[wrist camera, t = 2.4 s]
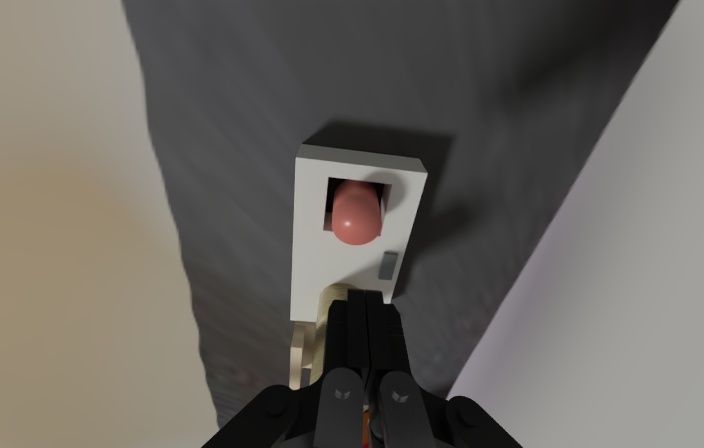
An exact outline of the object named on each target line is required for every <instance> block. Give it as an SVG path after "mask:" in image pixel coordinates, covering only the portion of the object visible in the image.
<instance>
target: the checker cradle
mask: <svg viewBox="0 0 704 448" xmlns="http://www.w3.org/2000/svg"><path fill="white" fill-rule="evenodd" d="M427 174H428V173H427V171H426V169H425V168H424V166H423V164H422V162H421V161H420V159H418V158H410V157H402V156H394V155H386V154H378V153H370V152H362V151H354V150H347V149H339V148H331V147H323V146H315V145H307V144H301V146H300V148H299V151H298V153H297V156H296V168H295V198H294V227H293V257H292V287H291V317H290V320H295V321H308V322H316V320H317V311H318V301H319V295H320V293H321V291H322V290H323V289H324V288H326V287H327V286H329V285H332V284H336V283H346V284H350V285H353V286H355V287H357V288H358V289H364V290H365V289H368V290H380V291H382V294H383V300H384V303H385V304H390V301H391V298H392V294H393V291H394V288H395V284H396V281H397V277H398V274H399V270H400V267H401V264H402V260H403V257H404V253H405V250H406V246H407V243H408V240H409V236H410V233H411V229H412V226H413V222H414V219H415V216H416V212H417V209H418V205H419V202H420V198H421V195H422V191H423V188H424V185H425V181H426V178H427ZM329 177H334V178H342V179H351V180H359V181H368V182H376V183H385V184H384V189H383V193H382V198H381V203H380V208H379V209H380V214H381V220H382V228H381V231H380V233H379V235H378V236H377V237H376V238H375V239H374V240H373V241H371V242H369V243H367V244H364V245H349V244H346V243H344V242H342V241H340V240H339V239H338V238H337V237H336V236H335V234H334V232H333V230H332V214H333V213H330V212H325V209H326V199H327V189H328V179H329Z"/></svg>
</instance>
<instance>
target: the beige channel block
mask: <svg viewBox="0 0 704 448" xmlns="http://www.w3.org/2000/svg"><path fill="white" fill-rule="evenodd" d="M315 330H316V322H308V321H296V322H295V327H294V333H293V339H292V344H291V360H290V388H291V389H292V390H297V389H299V388H300V381H301V373H302V368H312V358H313V349H314V339H315Z"/></svg>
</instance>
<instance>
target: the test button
mask: <svg viewBox="0 0 704 448" xmlns="http://www.w3.org/2000/svg"><path fill="white" fill-rule="evenodd" d="M381 228H382V220H381V214H380V209H379V203H378V198H377V193H376V190H375V188H374V186H373V185H372V184H371V183H370V182H368V181H359V180H351V179H347V180H345V181H343V182H342V183H340V184H339V185H338V187H337V188H336V190H335V193H334V202H333V214H332V230H333V232H334V234H335V236H336V237H337V238H338V239H339V240H340V241H342V242H344V243H346V244H349V245H364V244H367V243H369V242H371V241H373V240H374V239H375V238H376V237H377V236H378V235H379V233H380V231H381Z"/></svg>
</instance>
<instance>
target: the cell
mask: <svg viewBox="0 0 704 448" xmlns="http://www.w3.org/2000/svg"><path fill="white" fill-rule="evenodd" d="M347 288H355V289H358V288H357V287H355V286H353V285H350V284H346V283H336V284H332V285H329V286H327V287H326V288H324V289H323V290H322V291H321V293H320V295H319V301H318V311H317V320H316V330H315V339H314V349H313V358H312V368H311V377H310V385H311V384H313V383H314V382H316V381H317V380H318V379H319V378H320V376H321V375H322V370H323V356H324V342H325V330H326V322H327V315H328V308H329V307H330V305H331V303H332V302H333V300H334V299H336V300H345V294H346V289H347ZM368 407H369V406H367V405H363V412H365V411H366V410H367V409H368Z"/></svg>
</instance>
